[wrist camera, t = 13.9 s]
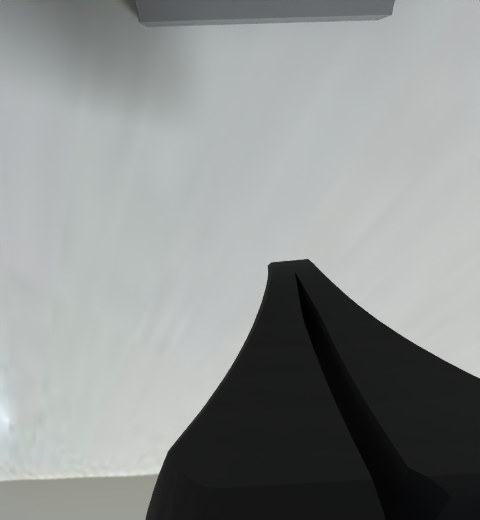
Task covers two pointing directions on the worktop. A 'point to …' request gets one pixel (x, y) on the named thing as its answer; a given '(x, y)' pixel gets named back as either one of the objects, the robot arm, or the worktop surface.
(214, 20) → the tray
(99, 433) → the worktop surface
